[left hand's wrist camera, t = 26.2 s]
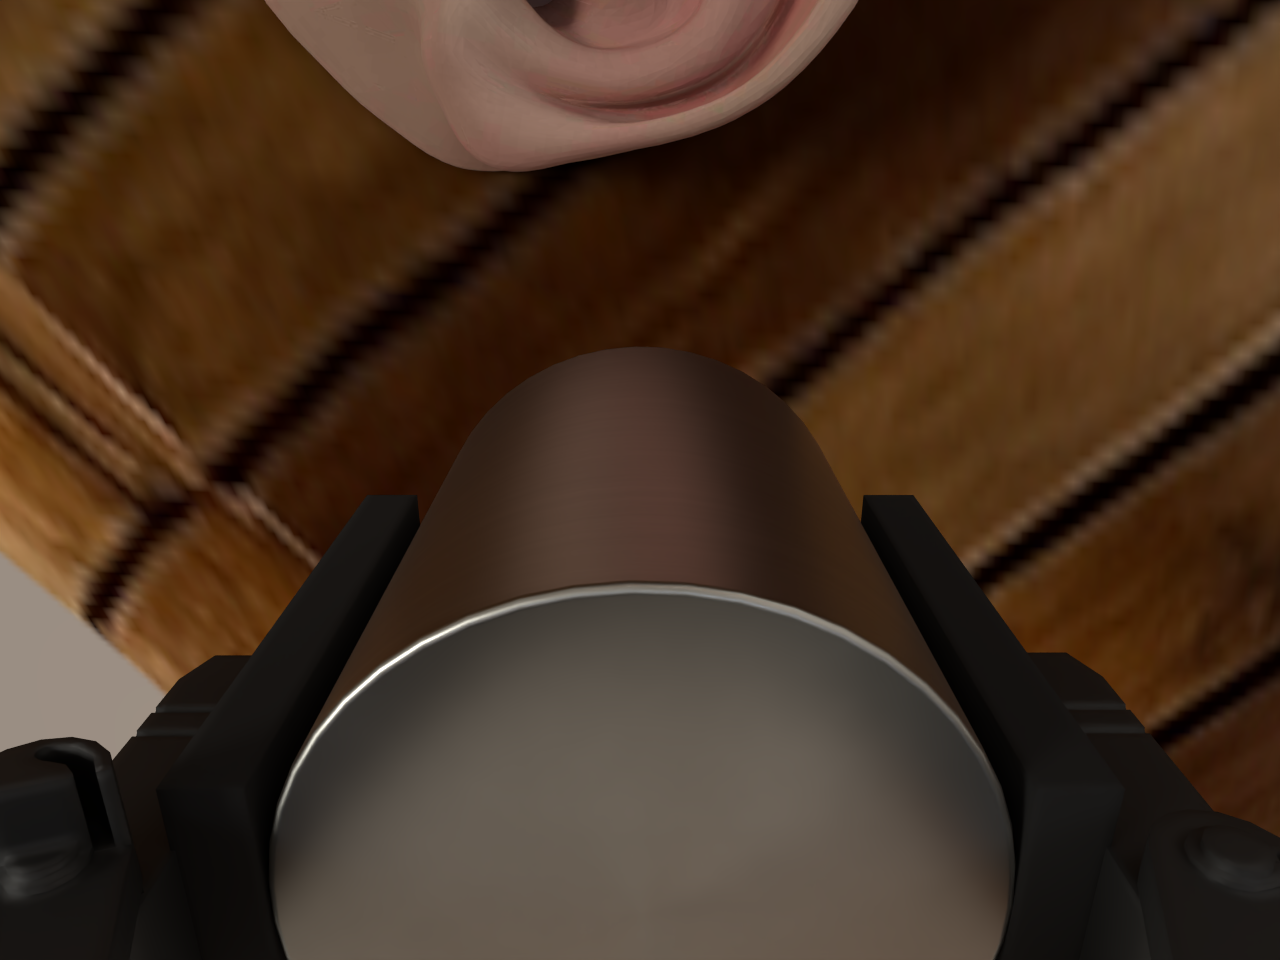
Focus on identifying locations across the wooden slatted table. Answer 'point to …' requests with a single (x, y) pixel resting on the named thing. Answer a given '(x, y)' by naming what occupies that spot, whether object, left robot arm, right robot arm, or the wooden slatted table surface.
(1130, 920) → the left robot arm
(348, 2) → the anatomical model
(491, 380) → the wooden slatted table surface
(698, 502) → the can
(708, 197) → the wooden slatted table surface
